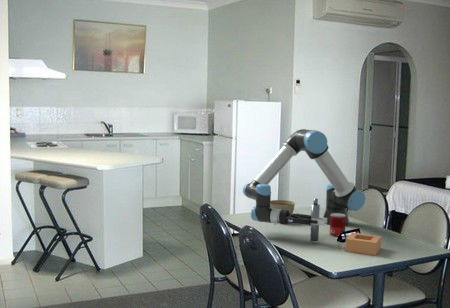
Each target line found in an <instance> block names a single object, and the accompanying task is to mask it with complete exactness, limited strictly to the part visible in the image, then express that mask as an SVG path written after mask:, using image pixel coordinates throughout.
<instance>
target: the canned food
mask: <svg viewBox="0 0 450 308" xmlns="http://www.w3.org/2000/svg"><path fill="white" fill-rule="evenodd" d="M345 223H346V215H345V214H341V213H332V214H331V215H330V225H329V235H330V236H332V237H337V236H338V235H339V234H340V233H341V232H345V233H346V225H345Z"/></svg>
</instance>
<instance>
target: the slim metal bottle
mask: <svg viewBox="0 0 450 308" xmlns="http://www.w3.org/2000/svg"><path fill="white" fill-rule="evenodd" d="M318 203H319V202H318V198H315V197H314V198H313V203H311V208H310V210H311V211H310V215H311V219H319V217H320V212H321V211H320V208H321V207H320V206H321V205H320V204H318ZM319 232H320V225H314V224H311V226H310V239H309V240H310V241H311V242H319V239H320V238H319V236H320V235H319Z"/></svg>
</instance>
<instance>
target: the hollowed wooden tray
mask: <svg viewBox="0 0 450 308" xmlns="http://www.w3.org/2000/svg"><path fill="white" fill-rule="evenodd" d="M344 245H345V248H344V251H345V252H348V253H354V254H355V253H357V254H363V255H368V256H377V254H378V253H379V251H380V250H381V248H382V235H377V234H376V235H374V234H368V233H367V234H366V233H360V232H351V233H350V234H349V235H348V236H347V237H346V238H345V244H344Z"/></svg>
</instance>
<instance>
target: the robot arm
mask: <svg viewBox="0 0 450 308" xmlns="http://www.w3.org/2000/svg"><path fill="white" fill-rule="evenodd" d="M301 152H305V153H306V155H307V157H308V158H309V159H310V160H314V162H315V163H316V164H317V165H318V167H319V168H320V171H322V173H323V174H324V176H325V177H326V179H327V180H328V181H329V184H327V185H326V190H325V191H326V198H325V199H326V200H325V201H326V202H325V210H324V212H323V216H322V217H320V216H319V219H311V214H303V213H298V212H297V213H292V214H290V212H289V210H281V209H274V208H270V201H271V200H272V199H271V198H272V189H271V185H270V183H271V182H272V181H273V180H274V178H275V177H276V176H277V175H278V174H279V173H280V172H281V170H282V169H283V168H284V167H285V166H286V165H287V164H288V163H289V161H291V159H293V157H295V156H297V155H298V154H299V153H301ZM242 194H243V195H244V196H245V197H247V198H248V199H251V200H254V201H255V206H252V208H251V210H250V218H251V220H253V221H255V222H259V223H268V224H269V223H270V224H274V225H283V226H284V225H286V226H287V225H289V224H297V225H304V226H305V225H307V226H309V227H311V224H314V225H319V226H325V225H329V226H330V215H331V214H332V213H341V214H345V215H346V223H345V226H347V225H349V224H350V219H349V215H348V211H353V212H357V211H359V210H361V209H363V207H364V205H365V202H366V194H365V193H364V192H363V191H362V190H360V189H358V188H357V186H356V185H355V184H354V183H353V181H349V180H348V178H347V177H346V175H345V174H344V172H343V171H342V169H341V168H340V166H339V165H338V163H337V162H336V160H335V159H334V158H333V156H332V155H331V153H330V152H329V145H328V138H327V136H326V135H325V134H324V133H323V132H322V131H320V130H319V131H318V130H315V129H305V128H304V129H303V128H302V129H299V130H296V131H295V132H293V133H292V134H291V135H290V136H288V138H287V139H286V140H285V141H284V142H283V143H282V147H281V148H280V149H279V150H278V151H277V153H276V154H275V155H274V156H273V157H272V159H271V160H270V161H269V162H268V163H267V164H266V165H265V166H264V168H263V169H262V170H261V171H260V172H259V173H258V175H256V177H255V178H254V179H253V180H252V181H251V182H250V183H246V184H244V186H243V188H242ZM347 210H348V211H347Z"/></svg>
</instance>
